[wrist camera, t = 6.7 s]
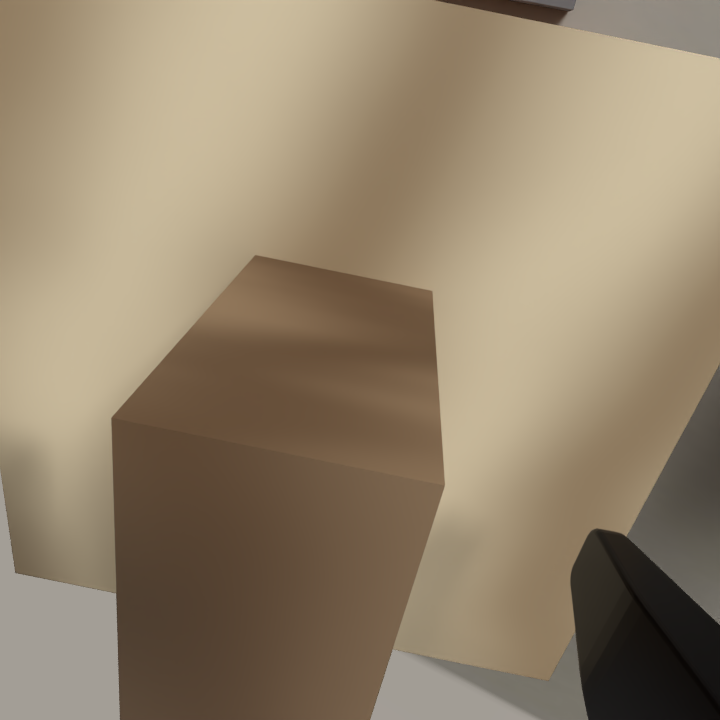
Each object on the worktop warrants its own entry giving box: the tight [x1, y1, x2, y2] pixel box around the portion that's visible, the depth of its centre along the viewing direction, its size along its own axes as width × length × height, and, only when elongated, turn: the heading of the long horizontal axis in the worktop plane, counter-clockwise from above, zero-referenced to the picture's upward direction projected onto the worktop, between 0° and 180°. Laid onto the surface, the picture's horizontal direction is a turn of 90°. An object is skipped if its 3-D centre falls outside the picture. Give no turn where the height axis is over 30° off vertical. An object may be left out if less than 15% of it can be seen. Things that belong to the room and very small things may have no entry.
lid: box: [0, 0, 720, 720], centre depth 9 cm, size 13×13×6 cm
